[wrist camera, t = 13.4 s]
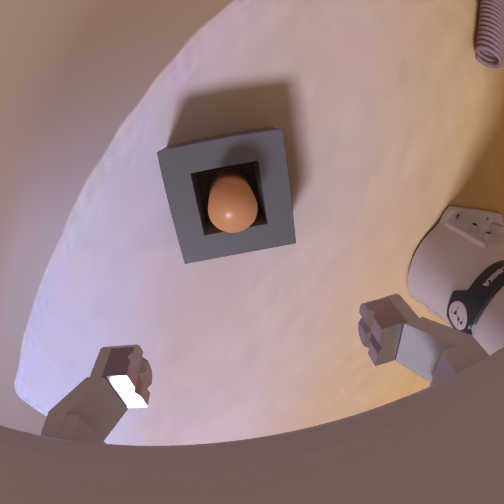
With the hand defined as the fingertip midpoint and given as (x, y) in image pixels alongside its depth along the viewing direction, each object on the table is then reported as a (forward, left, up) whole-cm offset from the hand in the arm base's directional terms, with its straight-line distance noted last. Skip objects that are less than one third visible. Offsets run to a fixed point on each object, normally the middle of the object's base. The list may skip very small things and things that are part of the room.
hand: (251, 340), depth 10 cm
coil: (-42, -23, -24) cm, 53 cm away
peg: (0, 0, -23) cm, 23 cm away
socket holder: (0, 0, -23) cm, 23 cm away
